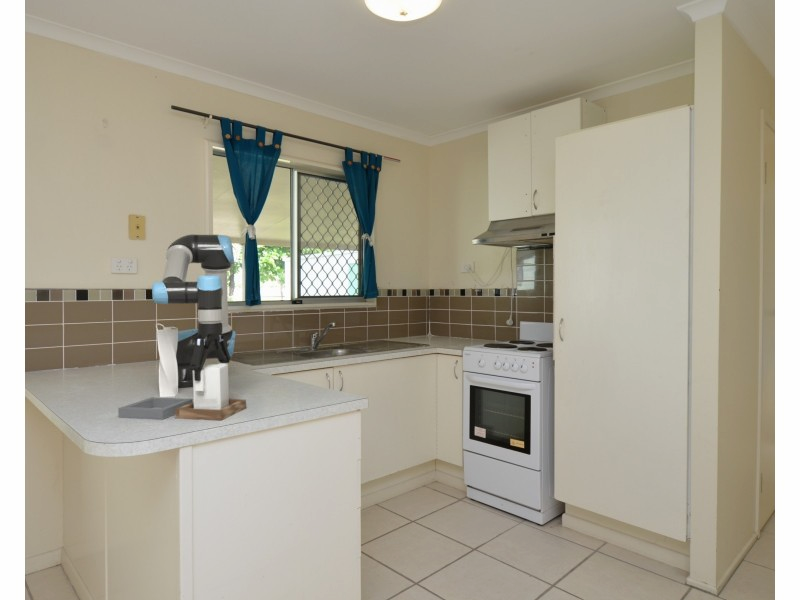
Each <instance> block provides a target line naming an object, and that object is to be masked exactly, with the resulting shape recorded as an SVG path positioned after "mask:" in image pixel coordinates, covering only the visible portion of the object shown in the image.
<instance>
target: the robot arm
mask: <svg viewBox="0 0 800 600" xmlns="http://www.w3.org/2000/svg"><path fill="white" fill-rule="evenodd" d="M165 256H166V265H165V267H164V272H163V276H162V279H161V281H155V282H153V283H152V287H151V289H152V290H151V292H152V295H151V296H152V301H153V302H154V304H157V305H169V304H170V305H173V304H174V305H175V304H180V305H181V304H197V311H198V312H197V321H198V322H199V323H198V324H197V328H192V329H184V330H178V343H177V352H176V360H177V367H178V388H190V387H193V370H194V374H195V391H204V370H202V368H203V365H204V364H206V363H205V362H206V360H209V359H217V360H218V363H217V364H228V363H230V362H231V361H230V360H231V357H232V356H233V355H234V351H235V344H236V343H235V342H236V331H235V330H233V326H231V325H230V324H229V307H228V306H229V304H228V303H229V302H228V300H229V297H228V271H229V270H230V269H231V267H232V264H234V263H235V257H234V249H233V243H232V239H231V238H230V236H229V235H225V234H224V235H222V234H186V235H183V236H180V237H179V238H177V239H175V240H173V242H171V243H170V245H169V246H168V248H167V250H166V253H165ZM190 264H200V268H201V269H202V270H203V271H204V274H205V275H199V276H198V277H197V280H196V281H187V277H188V276H187V275H188V270H189V266H190Z"/></svg>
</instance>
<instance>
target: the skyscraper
mask: <svg viewBox="0 0 800 600" xmlns="http://www.w3.org/2000/svg"><path fill="white" fill-rule="evenodd" d="M158 326H161V327H163V329H158ZM155 329H156V339H157V349H158V355H159V364H158V387H159V389H158V390H159V398H174V397H176V396H177V395H178V394H179V387H178V367H177V360H176V352H177V343H178V331H179V329H178V327H175V326H165V325H164V324H161V323H156V324H155Z"/></svg>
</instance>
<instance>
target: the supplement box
mask: <svg viewBox="0 0 800 600" xmlns="http://www.w3.org/2000/svg"><path fill="white" fill-rule="evenodd" d="M202 370H204V391H195V374H194V370H193V386H192V388H193V390H192V392H193V393H192V394H193V402H194V409H215V410H220V409H222V408H224V407H226V406H228V405H229V399H230V393H229V392H230V391H229V390H230V389H229V364H228V363H226V364H218V363H216V364H214V363H213V364H212V363H211V364H206V363H204V365H203V368H202Z"/></svg>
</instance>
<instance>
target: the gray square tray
mask: <svg viewBox="0 0 800 600" xmlns="http://www.w3.org/2000/svg"><path fill="white" fill-rule="evenodd" d="M192 402H194V398H179V397H178V398H175V397H149V398H145V399H142V400H139V401H136V402H133V403H130V404H127V405H125V406H121V407H118V408H117V409H118V418H121V419H122V418H124V419H141V420H142V419H144V420H145V419H146V420H166V419H168V418H170V417H173V416H175V409H176V408H179V407H182V406H184V405H187V404H189V403H192Z"/></svg>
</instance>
